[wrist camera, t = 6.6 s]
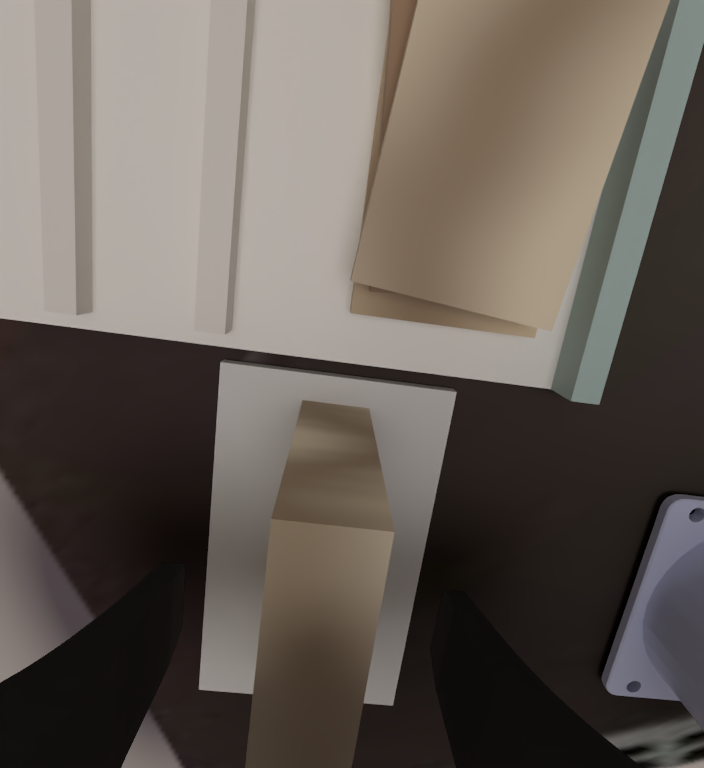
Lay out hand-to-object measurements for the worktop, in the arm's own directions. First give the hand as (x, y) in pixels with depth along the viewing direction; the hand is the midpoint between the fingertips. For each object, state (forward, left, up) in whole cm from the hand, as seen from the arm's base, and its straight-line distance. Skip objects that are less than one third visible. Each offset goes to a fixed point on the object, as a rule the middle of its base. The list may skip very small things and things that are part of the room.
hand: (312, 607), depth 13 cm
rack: (+1, -12, -3) cm, 13 cm away
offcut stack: (-2, -12, -2) cm, 13 cm away
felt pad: (0, 0, -3) cm, 3 cm away
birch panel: (0, 0, -2) cm, 2 cm away
